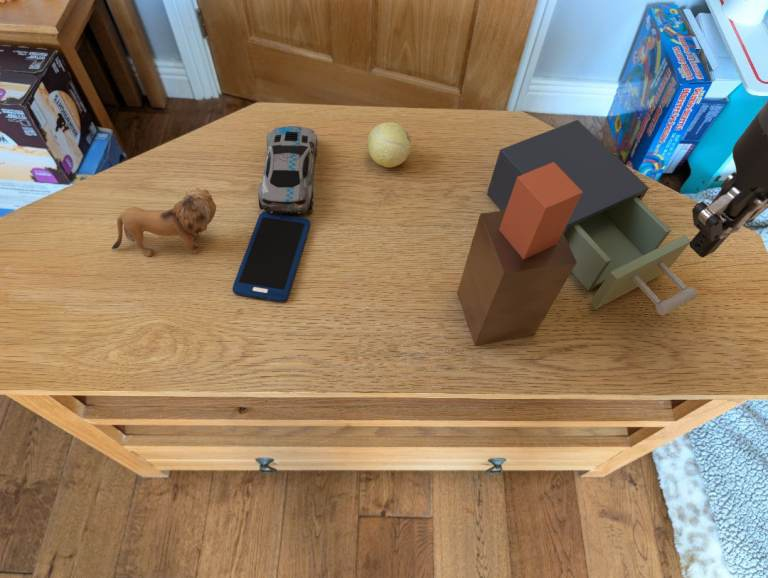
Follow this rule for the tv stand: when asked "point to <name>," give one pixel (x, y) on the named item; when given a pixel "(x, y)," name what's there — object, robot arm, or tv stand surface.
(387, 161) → the tennis ball
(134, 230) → the lion figurine
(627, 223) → the drawer
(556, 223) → the block
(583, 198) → the cabinet
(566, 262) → the stand
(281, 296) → the cell phone
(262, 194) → the toy car
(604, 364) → the tv stand surface
